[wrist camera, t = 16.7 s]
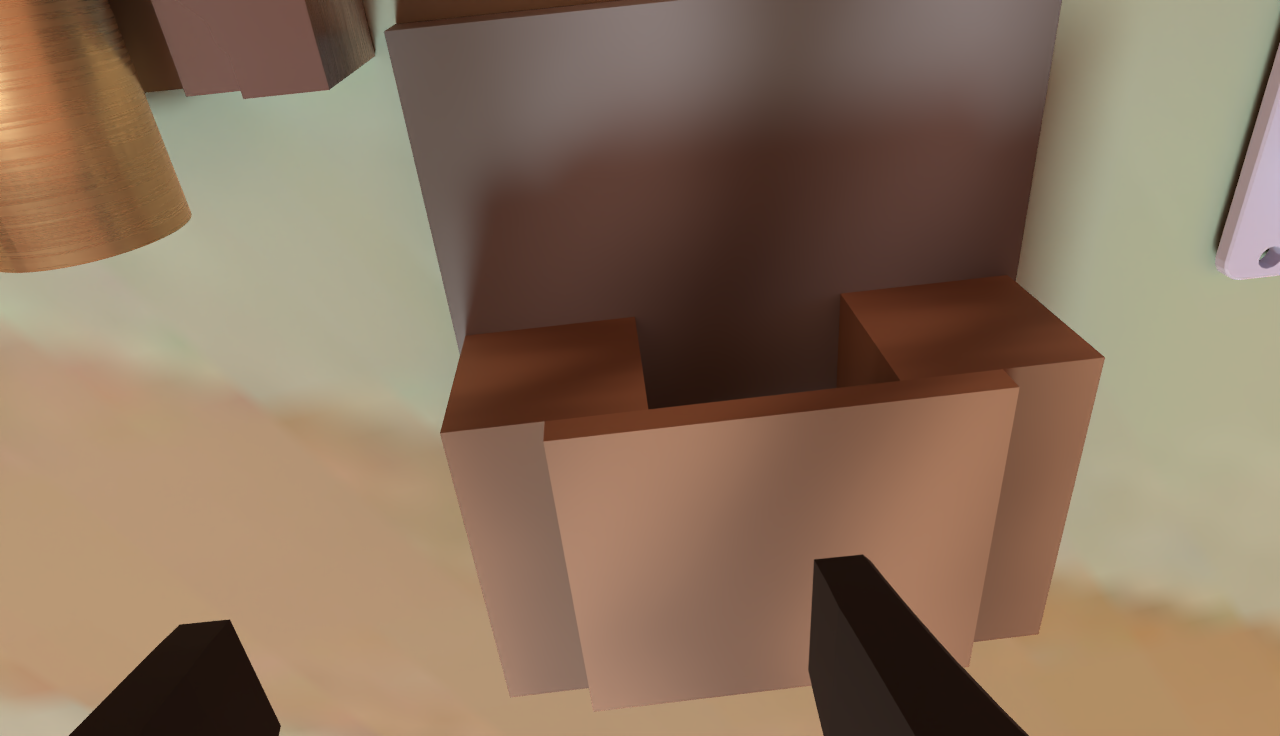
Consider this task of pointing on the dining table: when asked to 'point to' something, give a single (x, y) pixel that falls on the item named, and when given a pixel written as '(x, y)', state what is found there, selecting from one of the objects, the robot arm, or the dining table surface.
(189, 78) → the v block
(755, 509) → the bridge block
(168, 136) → the dining table surface
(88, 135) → the axle
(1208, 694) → the dining table surface
